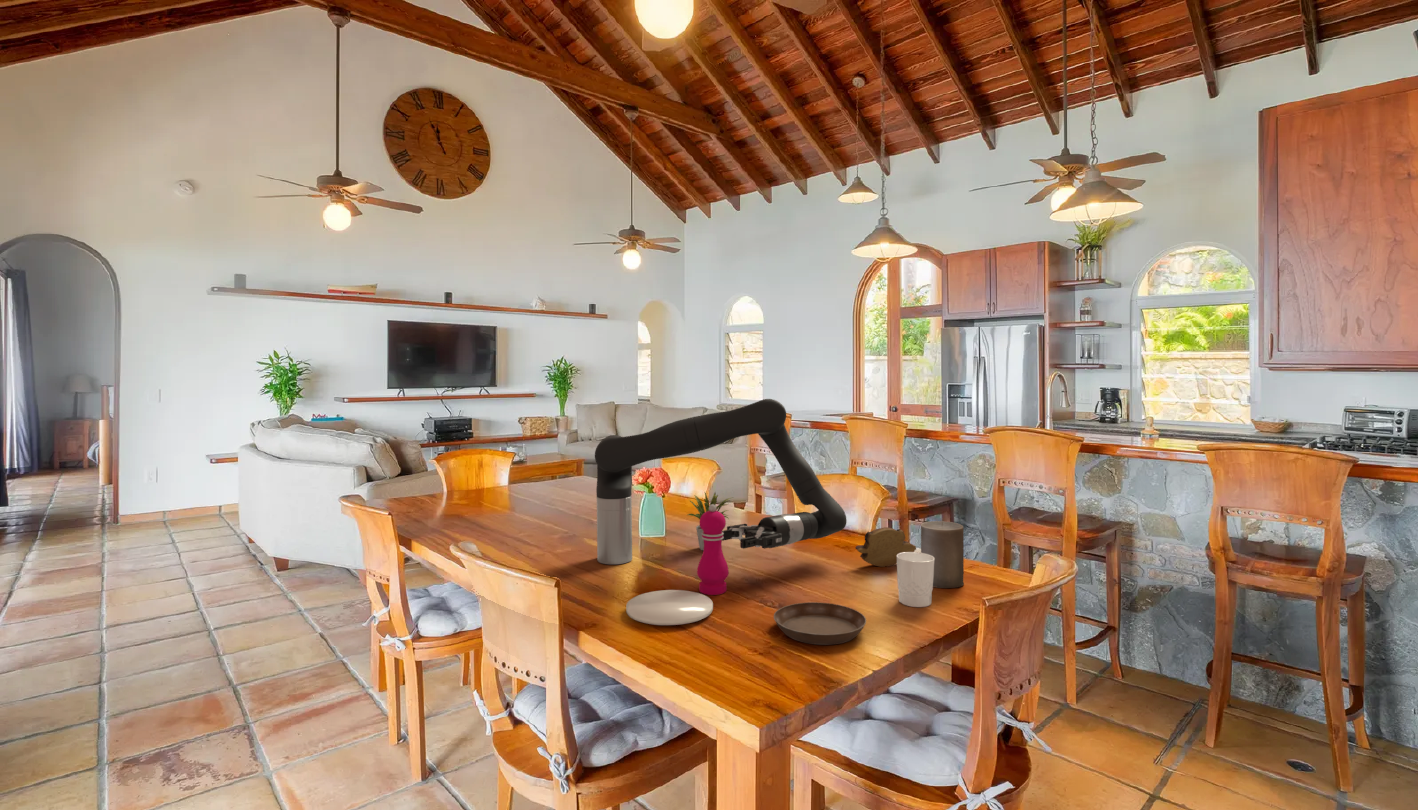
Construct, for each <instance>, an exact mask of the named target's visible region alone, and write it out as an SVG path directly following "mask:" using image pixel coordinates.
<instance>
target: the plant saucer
mask: <svg viewBox="0 0 1418 810" xmlns="http://www.w3.org/2000/svg"><path fill="white" fill-rule="evenodd" d="M773 620H774V622H775V623H776V625H777V626H778V628H779V629H780V630H781V631H782V632H783V634H785V635H786V636H787V637H789V639H790V638H791V639H793V640H794V641H797V642H801V643H804V644H810V645H819V646H829V645H831V646H832V645H839V644H844V643H848V642H850V641H852V640H853V639H855V638H856V637H857V636H858V635H859V634H860V633H861V631H862V630H863V629H864V628H865V625H866V624H867V618H866V617H865V614H863V613H861V612H860V611H858V610H856V609H854V608H851V607H847V606H846V605H841V604H835V603H829V602H812V601H811V602H801V603H800V602H799V603H793V604H788V605H785V606H783V607H780V608H779V609H777V610H775V612H774V614H773Z"/></svg>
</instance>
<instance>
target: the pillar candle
mask: <svg viewBox="0 0 1418 810" xmlns="http://www.w3.org/2000/svg"><path fill="white" fill-rule="evenodd" d="M964 535H965V534H964V525H963V524H960V523H957V522H953V521H945V520H944V519H942V520H940V521H939V520H933V521H925V522H922V523H921V524H920V553H925V554H929V555H931V556H933V557H934V558H935V561H934V578H933V588H939V589H953V588H954V589H955V588H961V587H962V586H964V584H965V582H964V574H965V573H964V558H965V557H964V546H965V545H964V538H965V537H964Z"/></svg>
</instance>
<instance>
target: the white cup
mask: <svg viewBox="0 0 1418 810" xmlns="http://www.w3.org/2000/svg"><path fill="white" fill-rule="evenodd" d="M934 561H935V558H934V557H933V556H931V555H929V554H925V553H921V552H919V551H918V552H916V551H914V552H903V553H899V554H897V563H896V575H897V579H896V580H897V590H898V601H899V603H901V604H902V605H904V606H907V607H913V608H926V607H929V606H931V605H932V597H933V596H932V595H933V594H932V592H933V589H934V587H933V578H934Z"/></svg>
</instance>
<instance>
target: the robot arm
mask: <svg viewBox="0 0 1418 810" xmlns="http://www.w3.org/2000/svg"><path fill="white" fill-rule="evenodd" d="M786 419H787V411H786V407H785V406H784V405H783V403H782V402H780V401H778V400H776V399H774V398H773V399H772V398H764V399H762V400H758V401H756V402H753V403H750V404H746V405H744V406H742V407H738V408H736V409H735V408H734V409H731V410H725V411H720V412H712V413H707V414H702V415H701V414H700V415H696V416H692V417H688V418H683V419H678V420H676V421H672V422H669V423H667V424H664V425H661V426H659V427H657V428H654V429H652V430H650V431H647V432H644V433H640V434H639V433H638V434H634V435H633V434H632V435H628V436H621V435H619V434H617V435H616V434H612V435H608V436H606V437H604V438H602V440H601V441H599V443H598V444H597V446H596V447H595V451H594V461H595V463H596V465H597V466H596V468H597V469H596V476H597V477H596V478H597V479H596V491H595V492H596V540H597V541H596V543H597V544H596V546H597V550H596V551H597V558H596V559H597V562H598V563H600V564H604V565H621V564H626V563H630V562H631V561H632V560H633V521H632V520H633V511H632V509H633V506H632V505H633V504H632V503H633V501H632V494H633V493H632V491H633V490H632V487H633V485H632V484H633V481H632V480H633V472H632V471H633V469H632V467H633V466H636V465H640V464H642V463H646V462H649V461H650V462H651V461H654V460H660V459H667V458H668V459H669V458H674V457H679V456H684V455H689V454H692V453H693V454H694V453H697V452H700V451H705V450H708V449H712V448H714V447H716V446H719V445H721V444H724V443H726V442H728V441H731V440H734V439H735V438H739V437H745V436H750V435H758V436H759V438H761V439H762V440H763V442H764V444H765V445H766V446H767V447H768V449H769V451H770V452H771V453H772V454H773V456H774V457H775V459H776V460H777V462H778V464H779V465H780V467H781V470H782V471H783V474H784V475H785V477H786V478H787V480H788V482H789V485H790V486H791V487H792V489H793V491H794V493H795V495H796V496H797V498H798V500H799V501H800V503H801V504H802V505H804V506H809V505H810V506H814V507H815V508H816V509H817V510H816V511H813V512H809V511H799V512H794V513H782V514H777V515H771V516H766V517H763V518H762V519H760V520H759V522H758V524H751V525H748V523H741V524H733V525H728V526H726V529H725V530H724V529H723V530H722V532H723V533H724V534H723V537H724V538H723V539H722V541H723V542H724V541H728V540H738V541H739V542H740V543H739V544H740V545H739V546H740V548H741V549H743V550H744V549H748V548H752V547H753V548H760V547H761V549H765V550H766V549H774V548H778V547H783V546H784V547H785V546H787V545H791V544H792V545H793V544H794V543H797V542H801V541H807V540H813V539H814V540H817V539H823V538H826V537H829V536H831V535H834V534H835V533H838V532H840V531H842V530H844V529H845V528H846V525H847V521H848V520H847V514H846V513H845V511H844V508H843V507H842V506H841V505H840V503H838V502H837V501H836V500H835V498H834V497H833V496H832V495H831V494H830V493H829V492H828V491H827V490H826V489H824V487H823V485H822V484H821V482H820V480H819V478H818V476H817V475H816V473H815V471H814V470H813V468H812V467H811V465H810V464H809V462H808V461H807V460H806V458H805V457H804V456H803V455H802V453H801V452H800V451H799V449H797V447H796V445H795V444H794V442H793V441H792V439H791V436H790V435H789V433H788V430H787V427H786V426H785V423H786ZM743 536H744V537H743Z"/></svg>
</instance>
